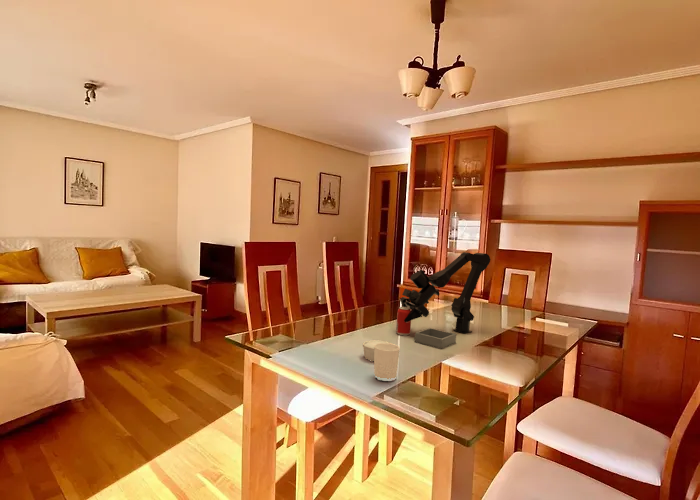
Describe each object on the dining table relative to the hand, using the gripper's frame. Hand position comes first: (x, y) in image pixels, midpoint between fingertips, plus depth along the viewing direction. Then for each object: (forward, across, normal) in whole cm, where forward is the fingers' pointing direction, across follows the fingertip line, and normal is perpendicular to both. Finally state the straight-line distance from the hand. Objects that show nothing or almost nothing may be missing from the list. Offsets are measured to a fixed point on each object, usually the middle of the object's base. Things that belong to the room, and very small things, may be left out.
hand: (401, 319), depth 169 cm
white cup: (+25, +45, -15) cm, 54 cm away
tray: (-2, +14, +11) cm, 18 cm away
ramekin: (+21, +28, -12) cm, 37 cm away
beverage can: (+4, 0, +6) cm, 7 cm away
